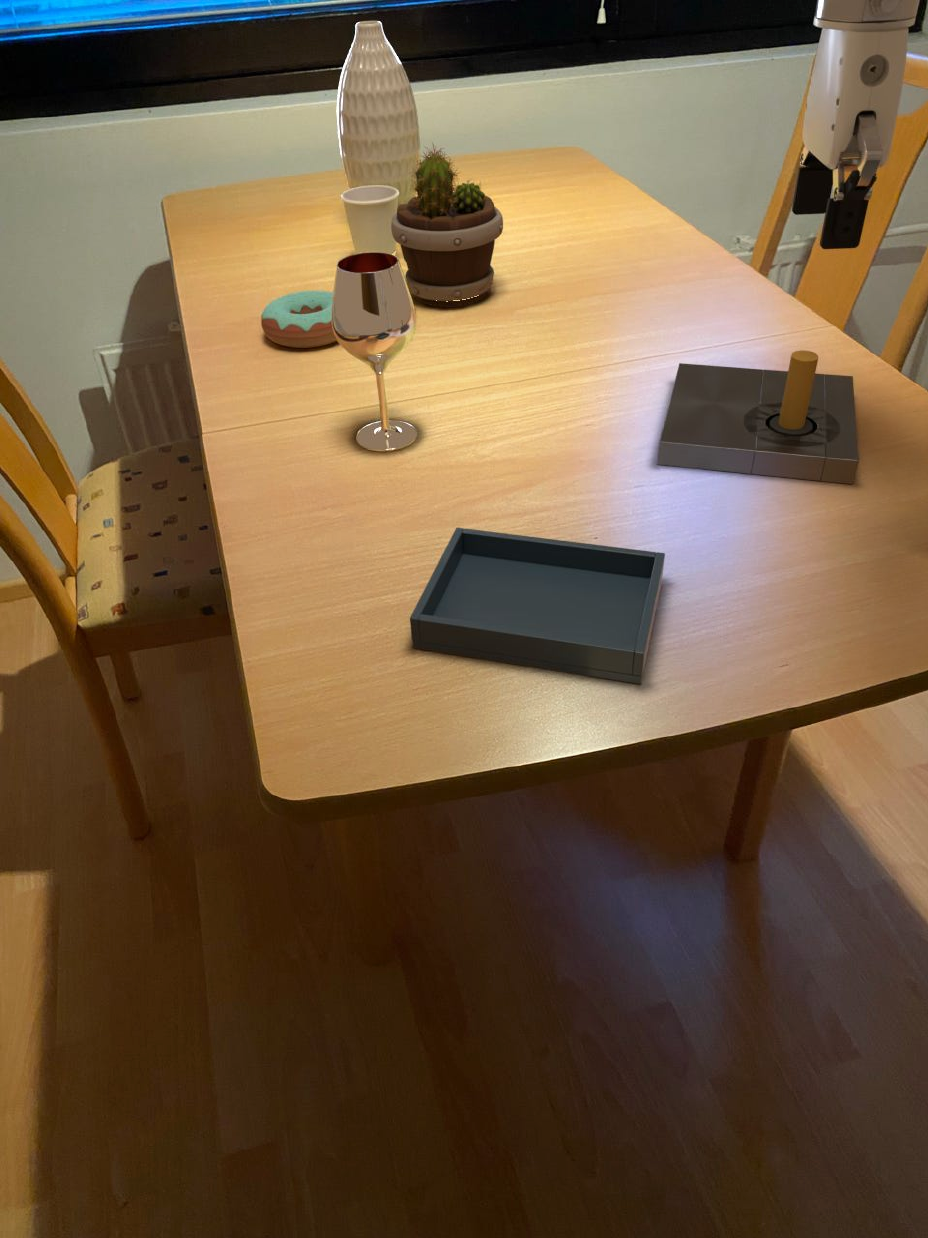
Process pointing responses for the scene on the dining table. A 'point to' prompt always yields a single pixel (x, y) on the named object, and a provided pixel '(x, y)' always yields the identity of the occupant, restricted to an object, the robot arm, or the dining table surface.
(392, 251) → the dixie cup
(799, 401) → the plug
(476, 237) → the flowerpot
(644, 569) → the basin tray
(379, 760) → the dining table surface
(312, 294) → the donut
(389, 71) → the vase
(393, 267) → the wineglass
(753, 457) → the drain plate
